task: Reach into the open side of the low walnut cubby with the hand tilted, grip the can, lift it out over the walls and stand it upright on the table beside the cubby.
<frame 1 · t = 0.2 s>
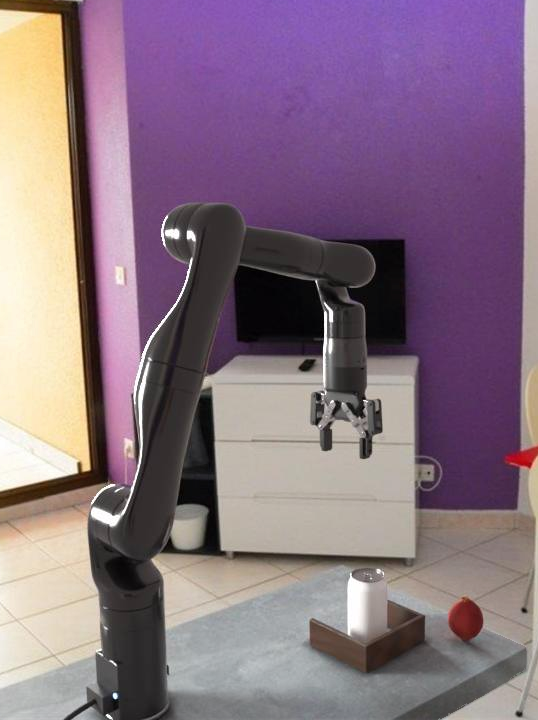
hand: (345, 454, 158), 29 cm above the table, tool pointing down, fingers open, 8 cm apart
onion: (465, 641, 151), on the table
can: (367, 643, 150), on the table
cubby: (367, 642, 150), on the table
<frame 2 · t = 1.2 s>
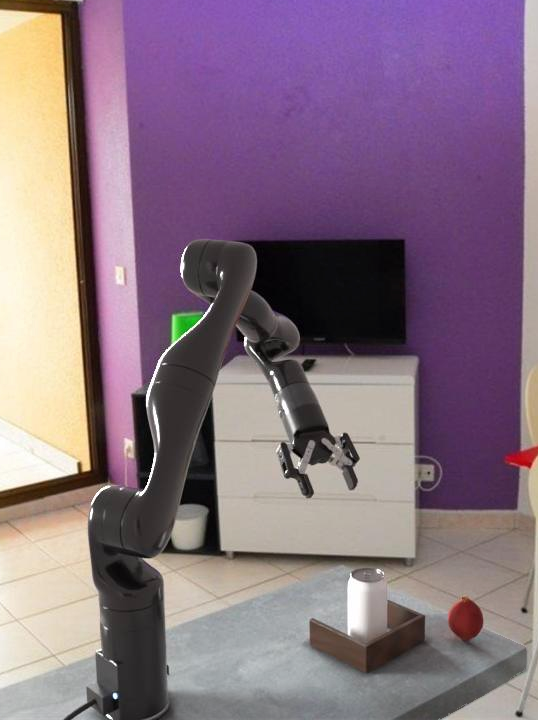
hand: (332, 492, 156), 23 cm above the table, tool tilted 45°, fingers open, 8 cm apart
nothing on the table moved.
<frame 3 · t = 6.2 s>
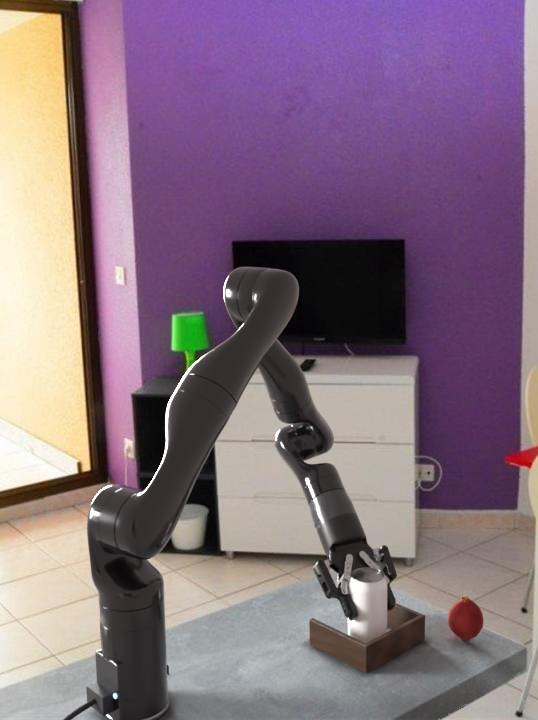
hand: (373, 613, 148), 6 cm above the table, tool tilted 45°, fingers closed on can, 6 cm apart
can: (367, 643, 150), on the table, touching gripper
everything else where it was.
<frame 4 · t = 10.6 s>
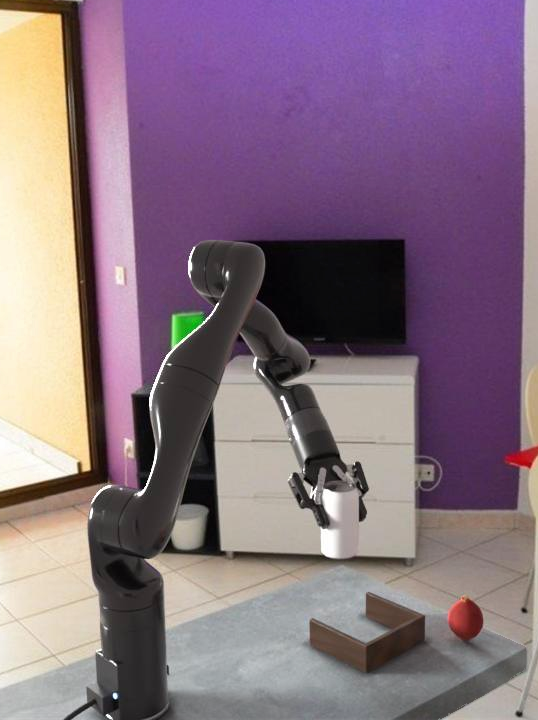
hand: (344, 523, 154), 18 cm above the table, tool tilted 45°, fingers closed on can, 6 cm apart
can: (340, 553, 156), point 12 cm above the table, touching gripper
everything else where it was.
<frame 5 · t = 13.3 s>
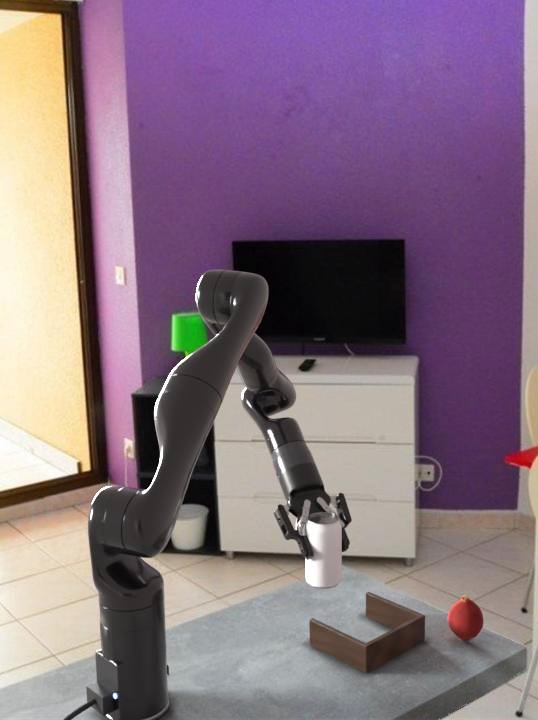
hand: (328, 553, 160), 11 cm above the table, tool tilted 45°, fingers closed on can, 6 cm apart
can: (323, 582, 162), point 5 cm above the table, touching gripper
everything else where it was.
when the fingers open (6 cm above the table, at t = 15.3 s): can stays where it is, on the table.
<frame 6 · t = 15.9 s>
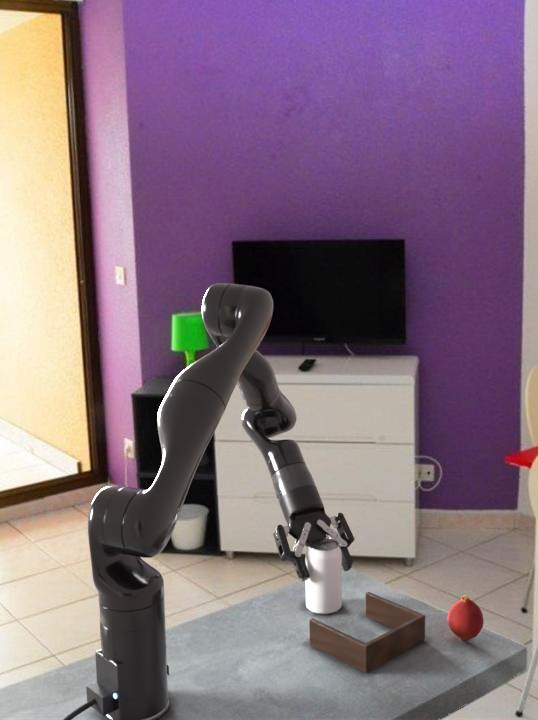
hand: (327, 574, 160), 7 cm above the table, tool tilted 45°, fingers open, 8 cm apart
can: (323, 608, 163), on the table
everything else where it was.
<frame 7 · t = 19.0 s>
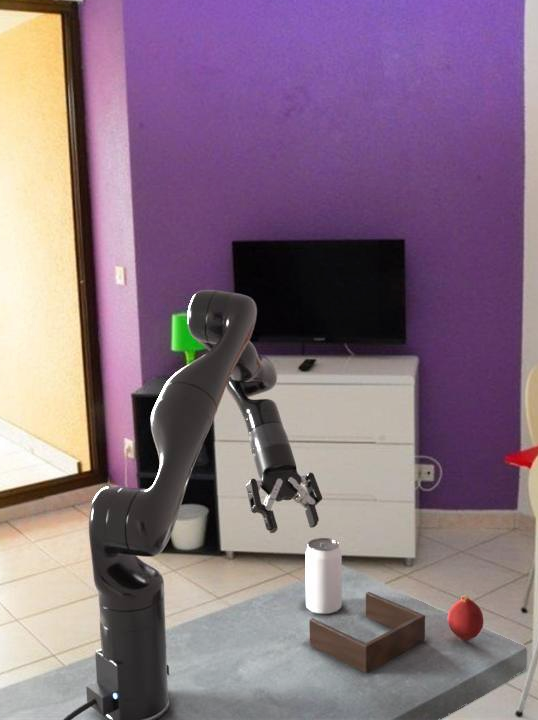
hand: (294, 528, 170), 11 cm above the table, tool tilted 40°, fingers open, 8 cm apart
nothing on the table moved.
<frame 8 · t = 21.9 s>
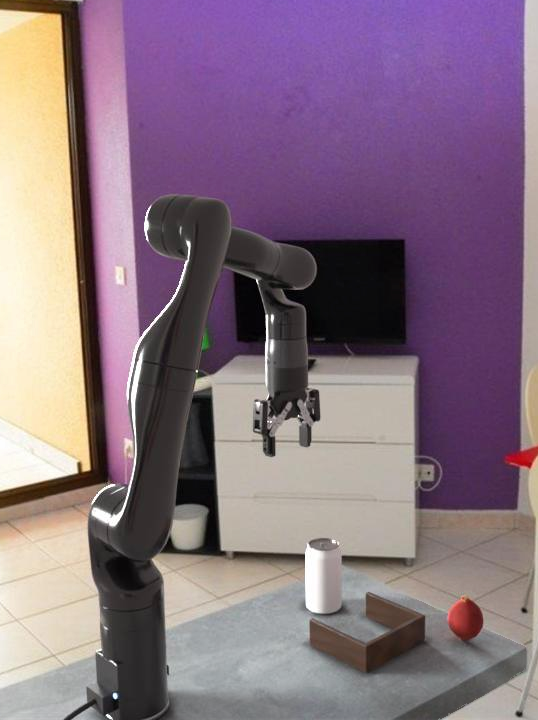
hand: (287, 451, 162), 28 cm above the table, tool pointing down, fingers open, 8 cm apart
nothing on the table moved.
at the end: can inside the target area (0.2 cm from its centre), on the table; can tilted 0°; the gripper is holding nothing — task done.
